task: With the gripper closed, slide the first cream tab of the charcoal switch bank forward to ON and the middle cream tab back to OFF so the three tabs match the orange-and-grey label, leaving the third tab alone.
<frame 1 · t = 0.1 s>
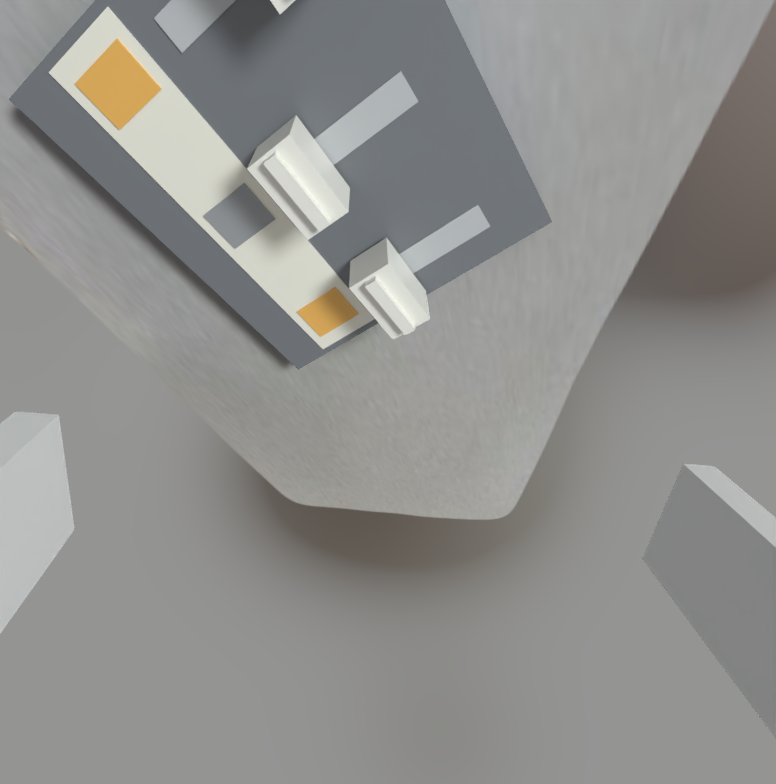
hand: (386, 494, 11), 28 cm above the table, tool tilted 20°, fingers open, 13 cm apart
switch bank: (308, 154, 33), on the table
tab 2: (301, 181, 30), point 4 cm above the table, slide at 6.0 cm
tab 3: (389, 291, 35), point 4 cm above the table, slide at 6.0 cm
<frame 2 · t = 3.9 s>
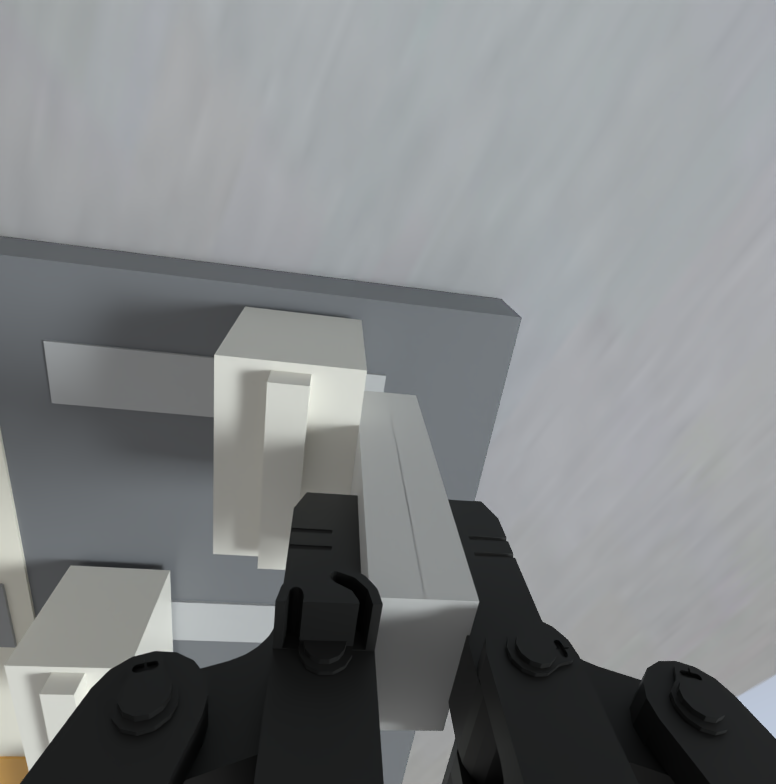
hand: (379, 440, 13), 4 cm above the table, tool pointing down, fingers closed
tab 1: (290, 435, 13), point 4 cm above the table, slide at 0.9 cm, touching gripper
switch bank: (149, 574, 19), on the table
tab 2: (99, 680, 16), point 4 cm above the table, slide at 6.0 cm
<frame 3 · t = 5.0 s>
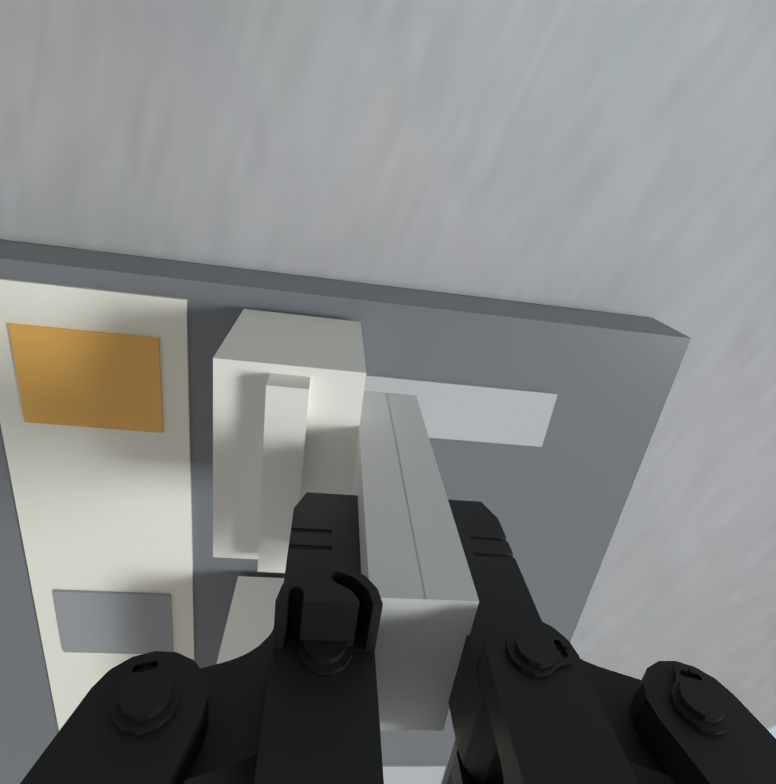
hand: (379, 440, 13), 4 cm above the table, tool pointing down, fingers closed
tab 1: (290, 438, 13), point 4 cm above the table, slide at 6.0 cm, touching gripper
switch bank: (286, 582, 20), on the table
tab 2: (273, 687, 16), point 4 cm above the table, slide at 6.0 cm
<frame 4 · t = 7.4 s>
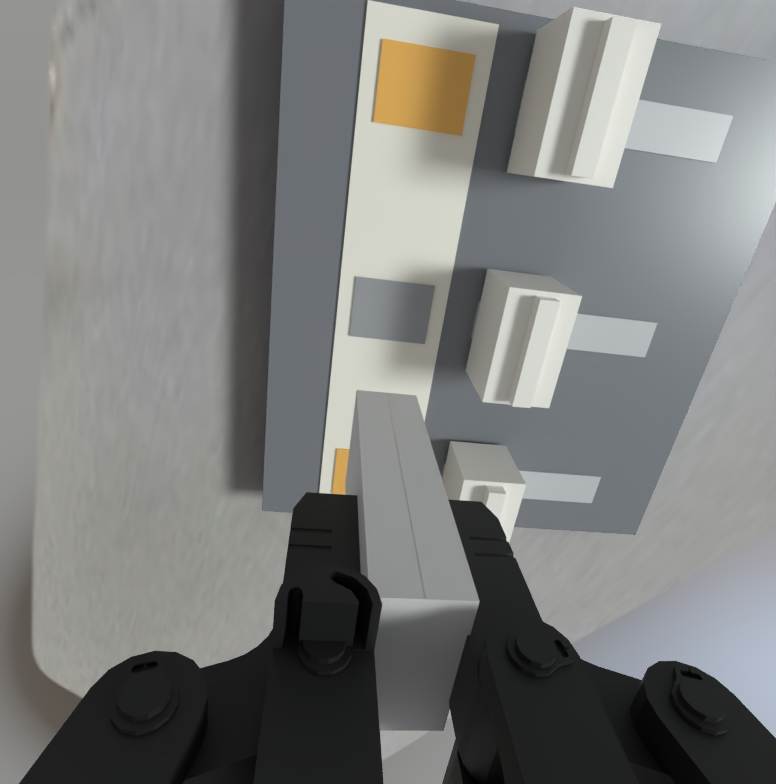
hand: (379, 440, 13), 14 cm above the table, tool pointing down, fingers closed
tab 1: (577, 107, 19), point 4 cm above the table, slide at 6.1 cm
switch bank: (494, 311, 26), on the table
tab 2: (519, 339, 23), point 4 cm above the table, slide at 6.0 cm
tab 3: (477, 506, 26), point 4 cm above the table, slide at 6.0 cm
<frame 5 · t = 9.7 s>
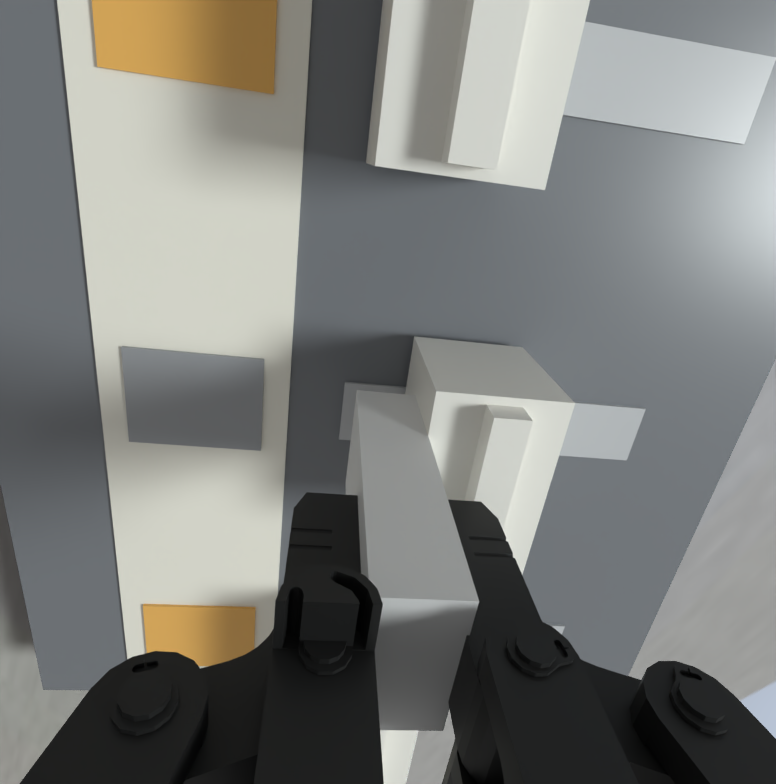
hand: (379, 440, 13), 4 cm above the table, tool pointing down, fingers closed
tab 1: (471, 23, 9), point 4 cm above the table, slide at 6.1 cm
switch bank: (388, 386, 17), on the table
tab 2: (468, 462, 13), point 4 cm above the table, slide at 4.3 cm, touching gripper
tab 3: (362, 699, 16), point 4 cm above the table, slide at 6.0 cm
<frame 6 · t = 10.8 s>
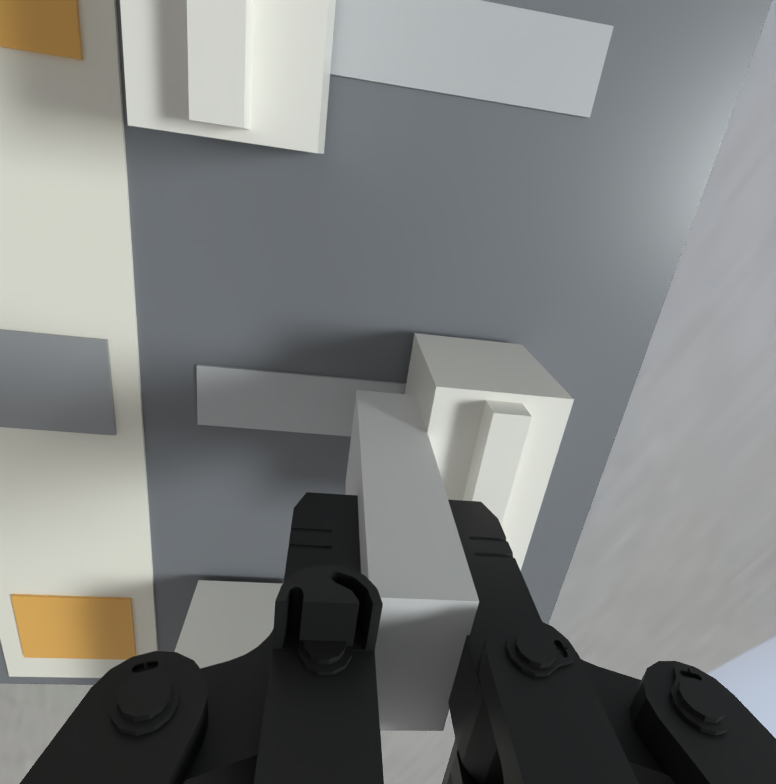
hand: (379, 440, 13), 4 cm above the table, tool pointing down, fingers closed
switch bank: (263, 371, 16), on the table
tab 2: (467, 458, 13), point 4 cm above the table, slide at 0.3 cm, touching gripper
tab 3: (233, 692, 16), point 4 cm above the table, slide at 6.0 cm
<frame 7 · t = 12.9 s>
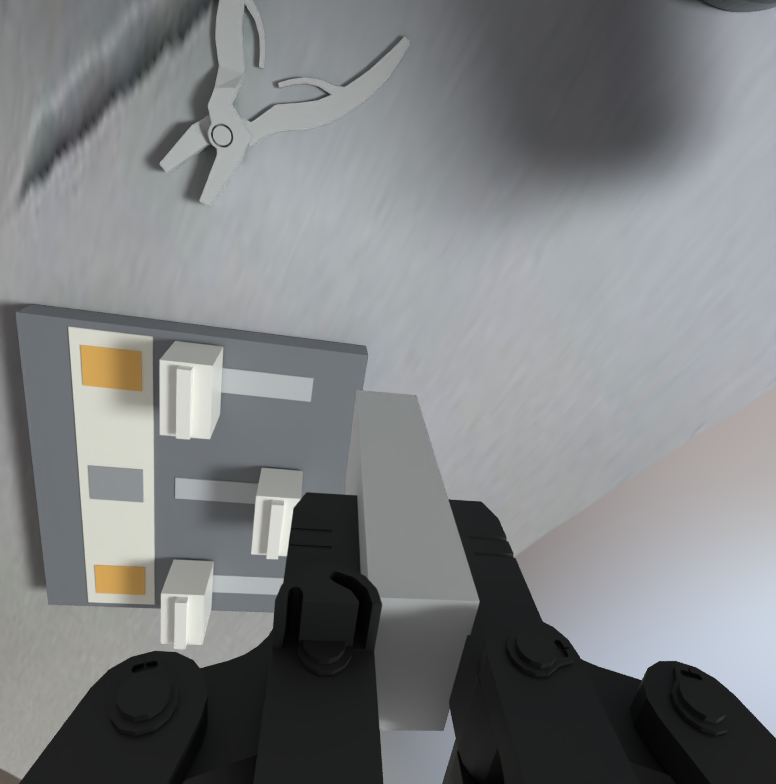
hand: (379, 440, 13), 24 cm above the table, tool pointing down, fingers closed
pliers: (265, 86, 31), on the table
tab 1: (191, 391, 33), point 4 cm above the table, slide at 6.1 cm
switch bank: (202, 474, 40), on the table
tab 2: (277, 514, 37), point 4 cm above the table, slide at -0.1 cm
tab 3: (186, 604, 40), point 4 cm above the table, slide at 6.0 cm
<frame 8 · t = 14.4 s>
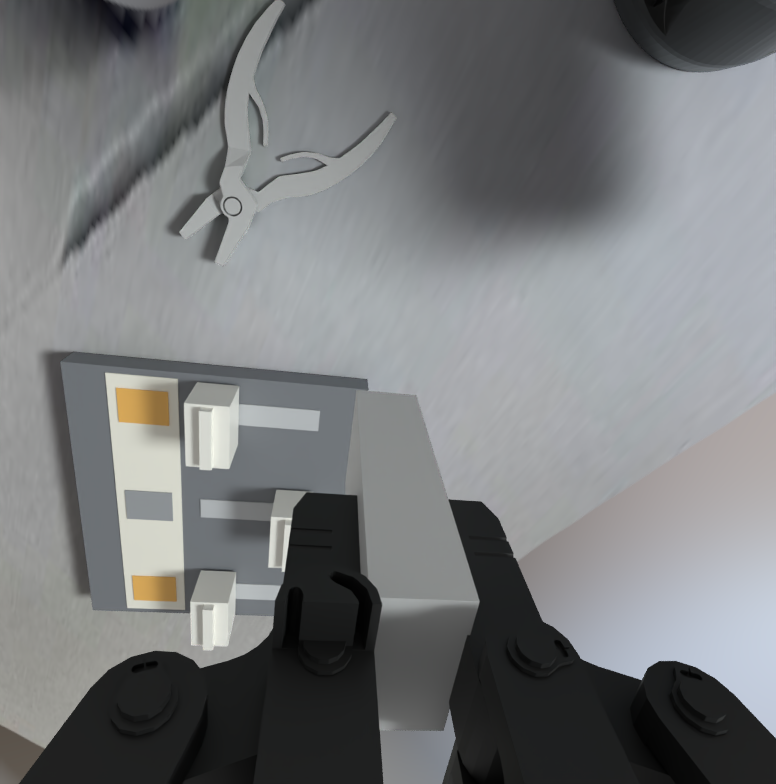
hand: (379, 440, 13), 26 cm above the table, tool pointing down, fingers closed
pliers: (269, 160, 35), on the table
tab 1: (212, 427, 37), point 4 cm above the table, slide at 6.1 cm
switch bank: (224, 494, 45), on the table
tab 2: (290, 531, 41), point 4 cm above the table, slide at -0.1 cm
tab 3: (213, 610, 44), point 4 cm above the table, slide at 6.0 cm
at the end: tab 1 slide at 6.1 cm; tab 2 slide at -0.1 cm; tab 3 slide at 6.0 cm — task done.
